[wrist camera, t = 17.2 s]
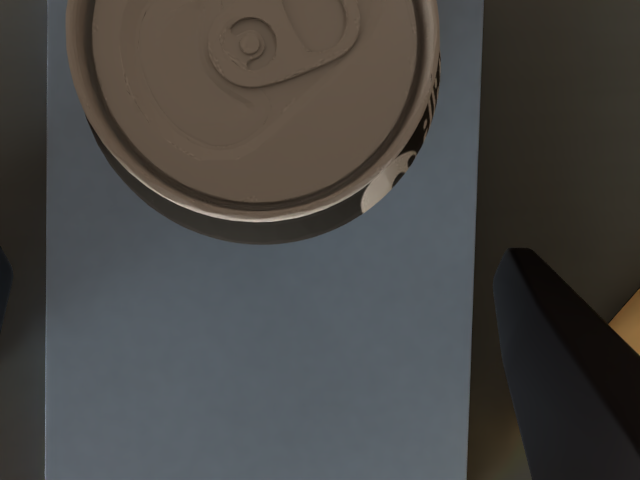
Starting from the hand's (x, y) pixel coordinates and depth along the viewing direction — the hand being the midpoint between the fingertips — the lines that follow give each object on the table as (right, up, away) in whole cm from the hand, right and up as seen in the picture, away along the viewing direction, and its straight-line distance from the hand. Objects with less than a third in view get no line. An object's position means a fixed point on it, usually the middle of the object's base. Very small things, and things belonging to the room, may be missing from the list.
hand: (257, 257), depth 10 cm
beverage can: (0, +4, +11) cm, 11 cm away
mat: (-1, 0, +12) cm, 12 cm away
